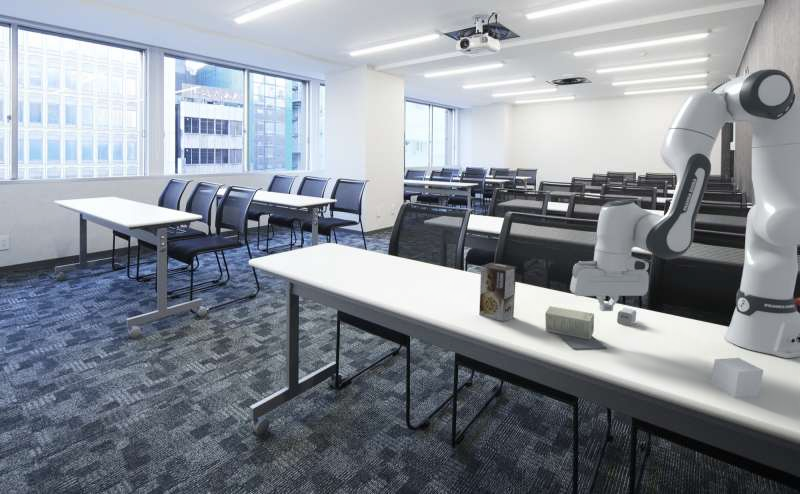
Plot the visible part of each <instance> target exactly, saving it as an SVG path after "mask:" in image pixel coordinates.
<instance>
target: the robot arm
mask: <svg viewBox="0 0 800 494" xmlns="http://www.w3.org/2000/svg"><path fill="white" fill-rule="evenodd" d="M793 84H794V83H793V81H792V79H791V78H790V76H789V75H788V74H787V73H786V72H785V71H782V70H780V69H773V68H770V69H768V68H767V69H760V70H756V71H754V72H750V73H747V74H743V75H740V76H737V77H735V78H733V79H730V80H729V81H727V82H724V83H721V84H719V85H717V86H715V87H714V88H713V89H712V90H710V91H709V90H701V91H696V92H693V93H692V94H689V95H688V96H687V97H686V98H685V100H683V103H682V104H681V106H680V107H679V109H678V110H677V112H676V114H675V115H674V117H673V119H672V120H671V123H670V125H669V126H668V129H667V131H666V133H665V136H664V137H663V139H662V144H661V148H660V151H659V152H660V156H661V158H662V161H663V163H664V164H665V165H666V166H667V167H668V168H669V169H671V170H672V171H673V172H674V174H675V176H676V186H675V190H674V192H673V196H672V198H671V200H670V201H671V202H670V205H669V207H668V210H667V212H666V213H665V215H659V214H658V213H657V214H656V213H652V212H651V211H647V210H646V209H644V208H642V207H640V206H639V205H638V204H636V203H635V201H634V200H630V199H615V200H610V201H607V202H606V203H604V204H603V205H602V207H601V209H600V212H599V216H598V220H597V227H596V236H597V241H596V244H595V246H594V255H593V260H588V261H584V260H582V261H581V260H579V261H578V262H577V263H575V264H574V265H573V268H572V277H571V279H570V280H571V281H570V286H569V290H570V292H571V293H572V294H573V295H574V296H577V297H596V299H597V301H598V303H599V310H600V311H601V312H613V311H614V307H615V305H616V303H617V302H618V300H619V297H623V296H625V297H626V296H629V297H630V296H636V297H637V296H638V297H639V296H645V295H646V294H647V292H649V284H650V283H649V282H650V280H649V279H650V277H649V273H648V271H647V270H648V269H649V267H650V265H649V264H650V263H649V262H647V261H645V260H644V259H640V258H638V257H636V256H634V255H632V250H633V248H637V249H638V248H639V249H640V250H643V251H645V252H648V253H651V254H653V255H655V256H656V257H659V258H661V259H663V260H675V259H677V258H679V257H681V256H683V255H684V254H686V253H687V252H688V250H689V249H690V247H691V245H692V243H693V240H694V237H695V236H694V235H695V225H696V220H697V216H698V215H699V214H698V213H699V210H700V208H701V204H702V202H703V199H704V195H705V192H706V191H707V190H706V189H707V185H708V183H709V179H710V176H711V171H712V164H711V159H710V158H711V154H712V151H713V148H714V146H715V144H716V141H717V139H718V138H719V134H720V132H721V130H722V129H723V127H724V126H725V125H729V124H734V123H745V122H747V124H748V125H749V127H750V128H751V132H752V137H751V181H752V187H753V192H754V193H753V194H754V203H755V204H753V206H751V208H749V210H748V213H747V216H746V227H745V242H744V243H745V244H744V263H743V269H742V274H741V281H740V287H739V288H738V289H737V292H736V298H735V305H736V306H735V309H734V312H733V314H732V317H731V321H730V324H729V326H728V327H727V331H726V333H725V335H724V339H725V340H727V342H729V343H732V344H734V345H736V346H738V347H741V348H743V349H746V350H750V351H755V352H759V353H762V354H763V353H764V354H768V355H772V356H776V357H780V358H783V359H784V358H785V359H790V358H791V359H793V358H798V357H800V312H798V309H797V306H799V307H800V297H797V298H795V297H794V291H795V288H796V283H797V282H796V281H797V277H798V271H799V264H798V246H799V245H800V101H799V100H797V99H796V94H795V89H794V85H793ZM608 296H609V298H610V299H609V300H608V302H606V303H605V301H604V300H606V297H608Z"/></svg>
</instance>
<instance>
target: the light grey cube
mask: <svg viewBox="0 0 800 494" xmlns="http://www.w3.org/2000/svg"><path fill="white" fill-rule="evenodd" d="M763 373H764V369H762V368H760V367H758V366H756V365H753V364H752V363H750V362H748V361H746V360H743V359H742V358H739V357H730V358H729V357H728V358H717V359H714V364H713V368H712V375H711V382H710V384H711V385H712V386H714V388H715V387H716V388H717V389H719V390H720V391H722V392H724V393H725V394H727V395H729V396H731V397H732V398H734V399H735V398H747V397H748V398H749V397H758V396H760V391H761V390H760V389H761V385H762V381H763V380H762V379H763V375H764V374H763Z"/></svg>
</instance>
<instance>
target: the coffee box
mask: <svg viewBox="0 0 800 494" xmlns="http://www.w3.org/2000/svg"><path fill="white" fill-rule="evenodd" d="M516 274H517V266H512V265H508V264H501V263H496V262H490V263H486V264H483V265H481V266H480V284H479V285H480V288H479V289H480V290H479V311H478V313H479V314H478V315H480V316H483V317H486V318H490V319H493V320H498V321H501V322H505V321H508V320H510V319H512V318H514V313H515V312H514V311H515V297H516V296H515V294H516V278H517V276H516Z"/></svg>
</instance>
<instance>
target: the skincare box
mask: <svg viewBox="0 0 800 494" xmlns="http://www.w3.org/2000/svg"><path fill="white" fill-rule="evenodd" d="M594 327H595V314H594V313H592V312H586V311H581V310H576V309H575V310H574V309H569V308H562V307H556V306H549V307H548V308H547V310H546V311H545V332H550V333H555V334H556V333H559V334H564V335H569V336H574V337H579V338H584V339H589V340H590V339H591V336H593V334H594V330H595V329H594Z"/></svg>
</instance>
